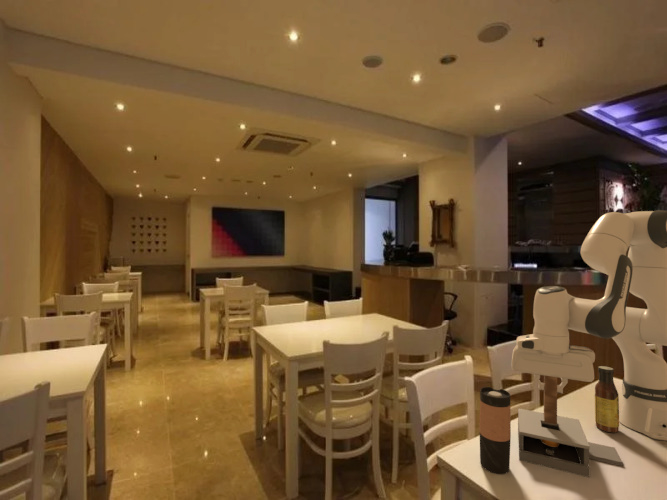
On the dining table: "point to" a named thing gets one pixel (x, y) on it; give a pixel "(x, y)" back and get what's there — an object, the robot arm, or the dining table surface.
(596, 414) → the sauce bottle
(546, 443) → the button
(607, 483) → the dining table surface
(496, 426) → the travel mug
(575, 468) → the box
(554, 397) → the brown wooden bar
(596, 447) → the pad
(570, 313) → the robot arm
